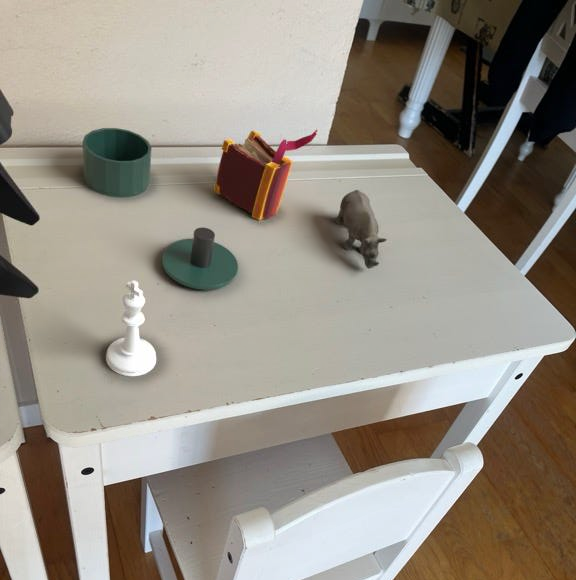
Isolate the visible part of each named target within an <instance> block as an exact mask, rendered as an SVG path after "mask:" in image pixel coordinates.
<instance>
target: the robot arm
mask: <svg viewBox="0 0 576 580" xmlns="http://www.w3.org/2000/svg"><path fill="white" fill-rule="evenodd" d="M14 113H15V112H14V109H13V108H12V105H11V104H10V103H9V101H8V100H7V97H6V96H5V94H4V93H3V91H2V89H1V88H0V146H1V145H3V144H5V143H7V142H8V141H9V140H10V139H11V137H12V135H13V128H12V117H13V116H14ZM0 214H2V215H4V216H6V217H8V218H10V219H13V220H15V221H18V222H20V223H23V224H25V225H28V226H34V225H36V224H37V223H38V222H39V221H40V219H41V218H40V217H41V216H40V214H39V213H38V211H37V210H36V209H35V208H34V206H33V205H32V203H31V202H30V201H29V199H28V198H27V196H26V195H25V194H24V193H23V191H22V190H21V189H20V187H19V186H18V185H17V183H16V182H15V181H14V179H13V178H12V176H11V175H10V174H9V172H8V171H7V169H6V168H5V166H4V165H3V164H2V163H1V161H0ZM39 289H40V288H39V287H38V286H37V284H35V283H34V282H33V280H31V279H30V277H28V276H27V275H26V274H25V273H23V272H22V271H21V270H20V269H18V268H17V267H16V266H15V265H14V264H12V263H11V262H10V261H8V260H7V259H6V258H5V257H4V256H2V255H1V254H0V296H7V297H15V298H21V299H32V298H33V297H35V296H36V295H37V294H39V291H40V290H39Z"/></svg>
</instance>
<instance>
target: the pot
mask: <svg viewBox="0 0 576 580" xmlns="http://www.w3.org/2000/svg"><path fill="white" fill-rule="evenodd" d="M152 151H153V149H152V145H151V144H150V142H149V140H147V139H146V138H145V137H143V136H142V135H141V134H139V133H136V132H134V131H131V130H128V129H123V128H119V127H118V128H117V127H102V128H98V129H93V130H91V131H89V132H88V133H86V134H85V135H84V137H83V139H82V171H83V178H84V181H85V183H86V185H87V186H88V187H89V188H90V189H92V190H93V191H95V192H97V193H99V194H101V195H104V196H108V197H111V198H112V197H113V198H132V197H135V196H136V197H137V196H139V195H142V194H143V193H144V192H146V191H147V190H148V188H149V187H150V180H151V167H152Z"/></svg>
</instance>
